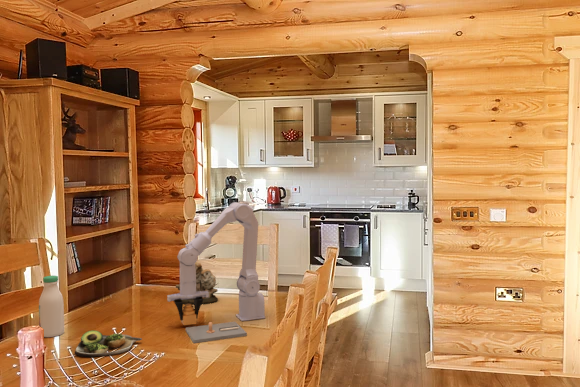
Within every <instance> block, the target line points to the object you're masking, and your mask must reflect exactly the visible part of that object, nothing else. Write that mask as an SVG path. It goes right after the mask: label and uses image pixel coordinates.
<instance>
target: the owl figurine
mask: <svg viewBox="0 0 580 387" xmlns="http://www.w3.org/2000/svg"><path fill="white" fill-rule="evenodd" d="M195 268H196V291H208V292H209V297H202V299H203V302H202V304H203V305H209V304H210V303H211V304H213V303H214V302H215V303H217V302H218V300H219V298H218V297H217V296H216V295H215V293H217V292H218V291H219V290H218V288H215V287H216V284H217V282H216V275H213V273H212V271H211V269H208V268H206V269H204V268H203V265H202V264H201V262H199V261H197V262H196V263H195ZM175 288H177V290H178V291H180V283H179V284H175ZM182 303H183V305H185V304H192V306H194V298H193V299H184V300H182ZM202 304H201V306H202Z"/></svg>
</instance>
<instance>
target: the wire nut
mask: <svg viewBox="0 0 580 387" xmlns="http://www.w3.org/2000/svg"><path fill="white" fill-rule="evenodd" d="M182 312H183V320H180V321H181V323H182V325H183V326H190V325H196V324H197V319H196V314H195V309H194V305H192V304H189V303H188V304H184V305H183V309H182Z"/></svg>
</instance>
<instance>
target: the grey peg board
mask: <svg viewBox="0 0 580 387" xmlns="http://www.w3.org/2000/svg"><path fill="white" fill-rule="evenodd" d="M185 332H186V334H187V335H188V337H189V338H190V340H191V342H192V343H193V344H197V343H204V342H212V341H219V340H220V339H221V340H226V339H235V338H241V337H247V335H248V334H247V333H248V332H247V331H245V329H244V328H242V326H240V325H239V324H238V322H237V321H228V322H227V321H226V322H220V323H213V322H212V321H209V322H208V324H206V325H205V324H204V325H198V326H188V327H185Z"/></svg>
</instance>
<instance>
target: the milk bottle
mask: <svg viewBox="0 0 580 387" xmlns="http://www.w3.org/2000/svg"><path fill="white" fill-rule="evenodd" d="M42 282H43V283H42V284H43V288H42V289H43V290H42V292H41V295H40V297H39V299H38V323H39V324H38V326H40V327H42V328H43V329H44V337H43V338H52V337H54V338H55V337H58V336H60V335H63V334H64V333H65V305H64V297H63V294H62V292H61V291H60V289H59V285H58V283H59V276H58V275H47V276H44V277H43V279H42Z"/></svg>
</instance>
